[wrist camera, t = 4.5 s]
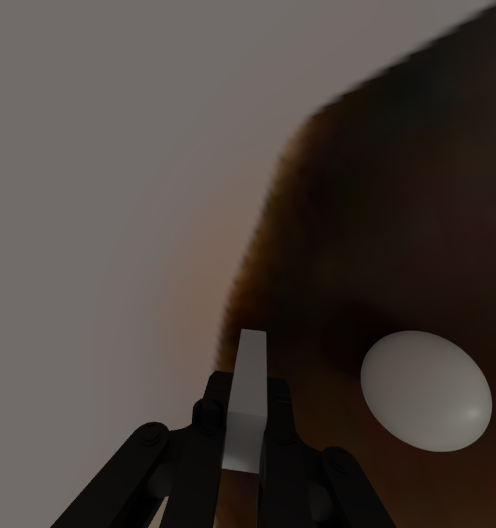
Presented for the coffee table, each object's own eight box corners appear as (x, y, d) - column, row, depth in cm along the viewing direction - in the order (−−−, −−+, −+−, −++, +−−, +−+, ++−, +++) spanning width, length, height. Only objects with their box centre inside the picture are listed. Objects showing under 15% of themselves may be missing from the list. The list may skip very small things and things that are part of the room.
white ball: (452, 320, 17) (551, 383, 11) (426, 399, 18) (502, 492, 12) (357, 308, 17) (406, 364, 11) (339, 387, 18) (374, 473, 13)
